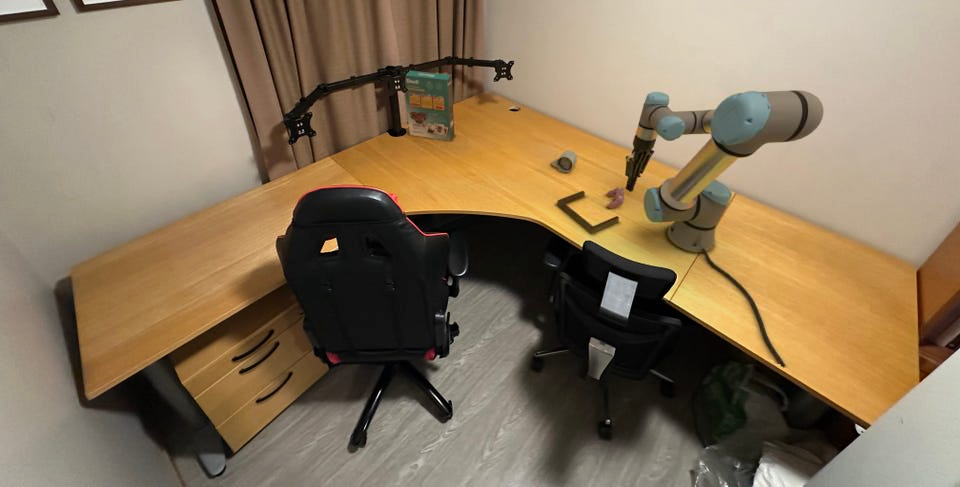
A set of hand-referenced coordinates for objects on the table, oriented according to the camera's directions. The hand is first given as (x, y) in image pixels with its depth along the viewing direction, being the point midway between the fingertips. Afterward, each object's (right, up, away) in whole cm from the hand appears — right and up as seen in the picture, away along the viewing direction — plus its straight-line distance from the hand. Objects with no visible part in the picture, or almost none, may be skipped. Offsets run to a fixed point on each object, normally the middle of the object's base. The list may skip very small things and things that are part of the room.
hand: (629, 189), depth 160 cm
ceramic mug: (-23, +13, +19) cm, 32 cm away
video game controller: (-6, -5, 0) cm, 8 cm away
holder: (-18, -10, -5) cm, 22 cm away
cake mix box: (-85, +33, +42) cm, 100 cm away
